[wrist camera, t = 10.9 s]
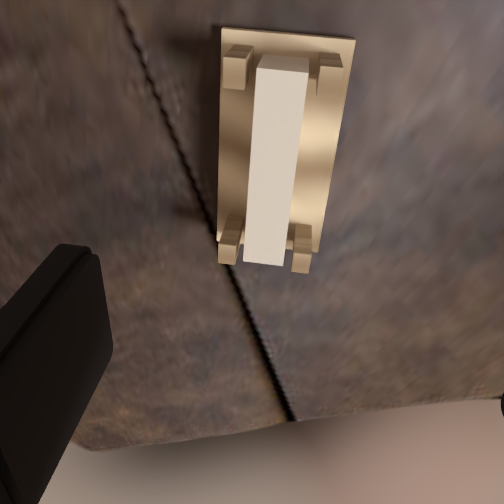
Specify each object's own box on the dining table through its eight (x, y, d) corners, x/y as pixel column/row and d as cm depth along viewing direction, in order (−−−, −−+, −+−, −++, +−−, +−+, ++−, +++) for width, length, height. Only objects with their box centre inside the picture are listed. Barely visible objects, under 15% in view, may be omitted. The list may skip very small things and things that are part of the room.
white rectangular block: (263, 53, 34) (256, 67, 30) (309, 58, 34) (308, 73, 29) (249, 231, 43) (243, 261, 39) (285, 235, 43) (282, 265, 38)
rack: (223, 26, 34) (208, 39, 29) (354, 38, 33) (361, 52, 28) (218, 235, 45) (206, 270, 40) (317, 246, 44) (318, 283, 39)
